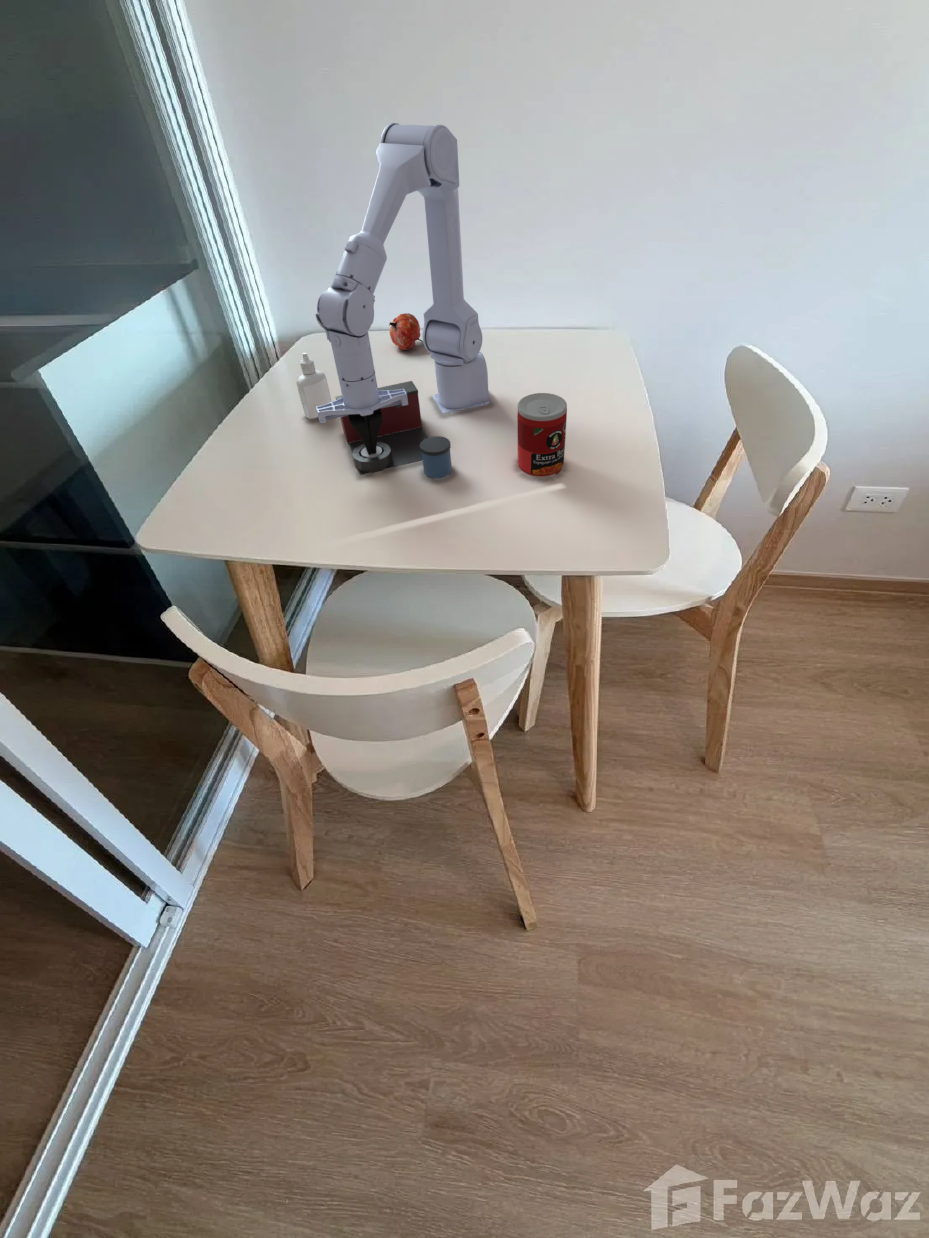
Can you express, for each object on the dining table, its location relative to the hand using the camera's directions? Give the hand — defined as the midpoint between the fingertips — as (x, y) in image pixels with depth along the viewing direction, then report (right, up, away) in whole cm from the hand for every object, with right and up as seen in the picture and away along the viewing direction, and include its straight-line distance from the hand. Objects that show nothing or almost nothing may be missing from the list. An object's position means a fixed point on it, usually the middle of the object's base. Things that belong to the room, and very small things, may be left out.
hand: (371, 451), depth 105 cm
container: (+11, -4, -1) cm, 12 cm away
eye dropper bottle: (-12, +11, +16) cm, 23 cm away
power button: (0, -1, +1) cm, 2 cm away
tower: (+1, +6, +9) cm, 11 cm away
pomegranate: (+3, +33, +35) cm, 49 cm away
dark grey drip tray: (+3, +1, +4) cm, 5 cm away
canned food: (+29, -3, -1) cm, 29 cm away
